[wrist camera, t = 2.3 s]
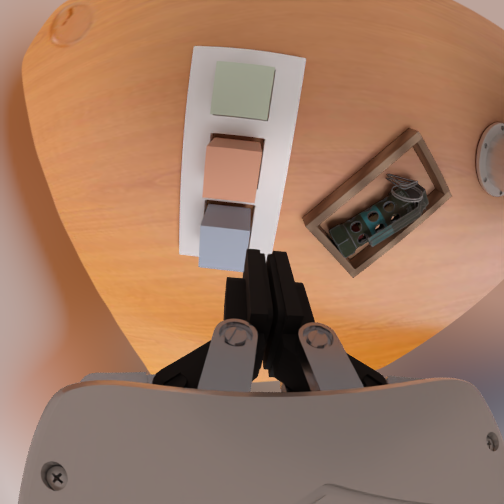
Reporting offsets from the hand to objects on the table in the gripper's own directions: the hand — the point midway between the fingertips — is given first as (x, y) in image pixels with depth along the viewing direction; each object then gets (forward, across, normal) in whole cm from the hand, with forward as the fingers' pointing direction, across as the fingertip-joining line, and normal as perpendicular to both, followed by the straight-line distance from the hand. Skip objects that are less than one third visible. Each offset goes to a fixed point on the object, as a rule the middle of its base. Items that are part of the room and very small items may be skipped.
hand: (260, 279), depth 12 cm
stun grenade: (+23, -17, +3) cm, 29 cm away
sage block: (+21, +1, -8) cm, 23 cm away
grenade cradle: (+23, -18, +2) cm, 29 cm away
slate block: (+22, +2, +8) cm, 23 cm away
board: (+24, +1, 0) cm, 24 cm away
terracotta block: (+22, +2, 0) cm, 22 cm away
